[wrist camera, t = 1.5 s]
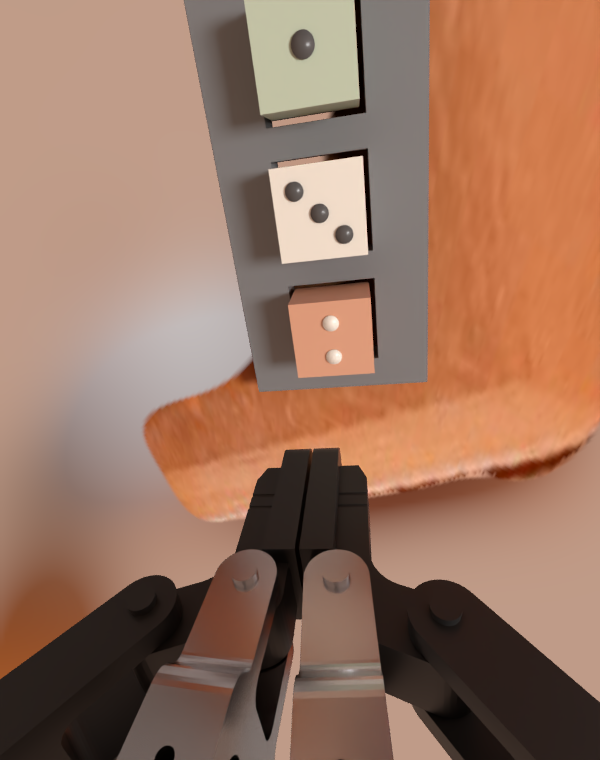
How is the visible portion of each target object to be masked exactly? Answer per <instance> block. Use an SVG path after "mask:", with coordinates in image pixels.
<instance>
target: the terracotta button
mask: <svg viewBox="0 0 600 760" xmlns="http://www.w3.org/2000/svg"><path fill="white" fill-rule="evenodd" d="M288 310H289V317H290V324H291V331H292V337H293V344H294V351H295V358H296V365H297V372H298V378H307V377H323V376H338V375H354V374H370V373H375V369H374V350H373V332H372V314H371V297H370V288H369V282H361V283H351V284H341V285H330V286H320V287H310V288H299V289H295V291H294V293H293V295H292V297H291V299H290V302H289V304H288Z"/></svg>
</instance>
